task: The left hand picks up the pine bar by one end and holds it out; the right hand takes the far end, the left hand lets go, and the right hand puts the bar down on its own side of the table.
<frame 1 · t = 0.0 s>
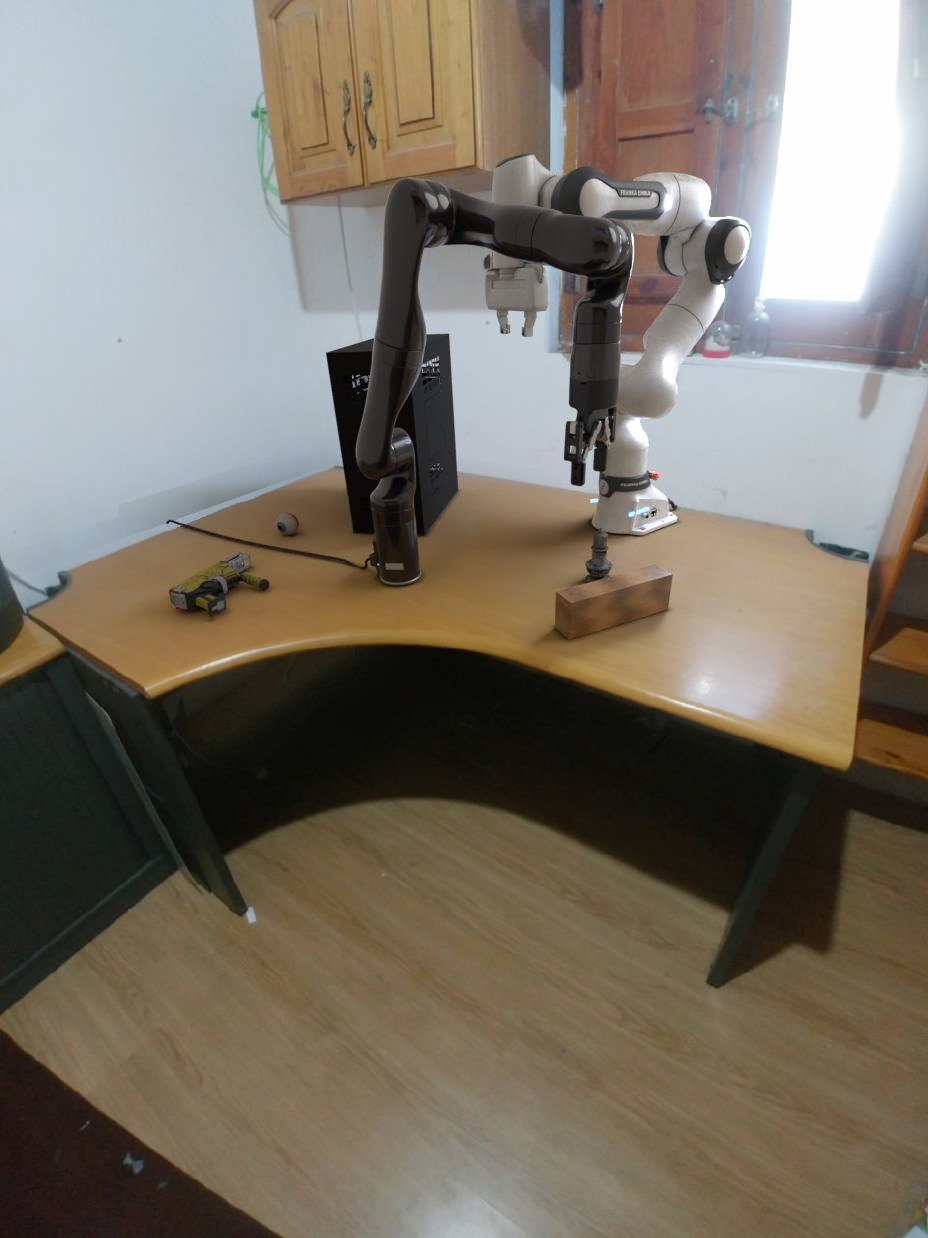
left hand: (588, 477, 100), 29 cm above the table, tool pointing down, fingers open, 8 cm apart
right hand: (516, 335, 125), 48 cm above the table, tool pointing down, fingers open, 8 cm apart
cardboard box: (409, 510, 177), on the table
eyeball: (289, 534, 165), on the table
bar: (612, 618, 117), on the table
toy gun: (234, 591, 136), on the table
dark grey chess piece: (597, 579, 132), on the table
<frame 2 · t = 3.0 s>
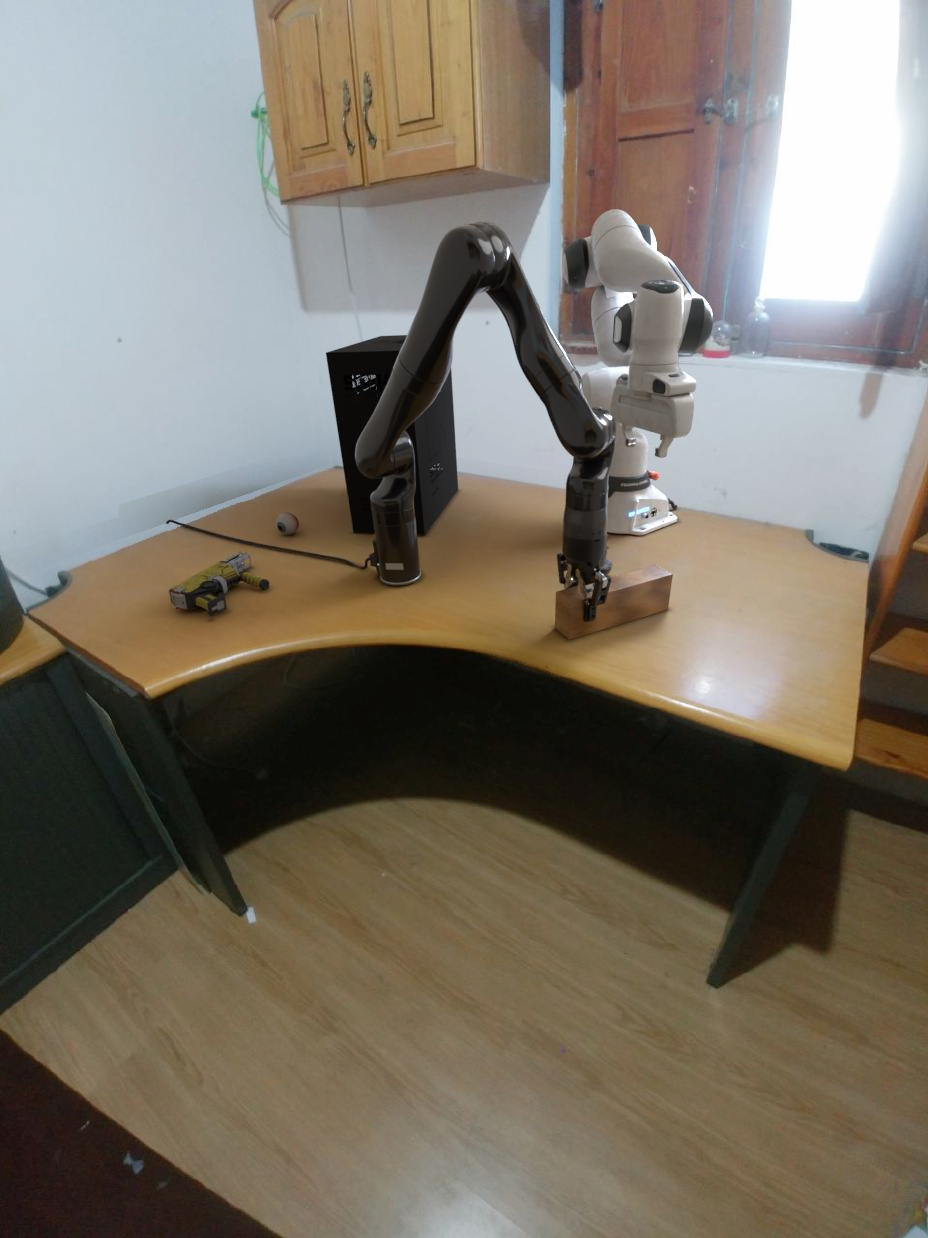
left hand: (580, 613, 113), 3 cm above the table, tool pointing down, fingers closed on bar, 5 cm apart
right hand: (644, 451, 121), 27 cm above the table, tool pointing down, fingers open, 8 cm apart
bar: (612, 618, 117), on the table, touching left hand
everything else where it was.
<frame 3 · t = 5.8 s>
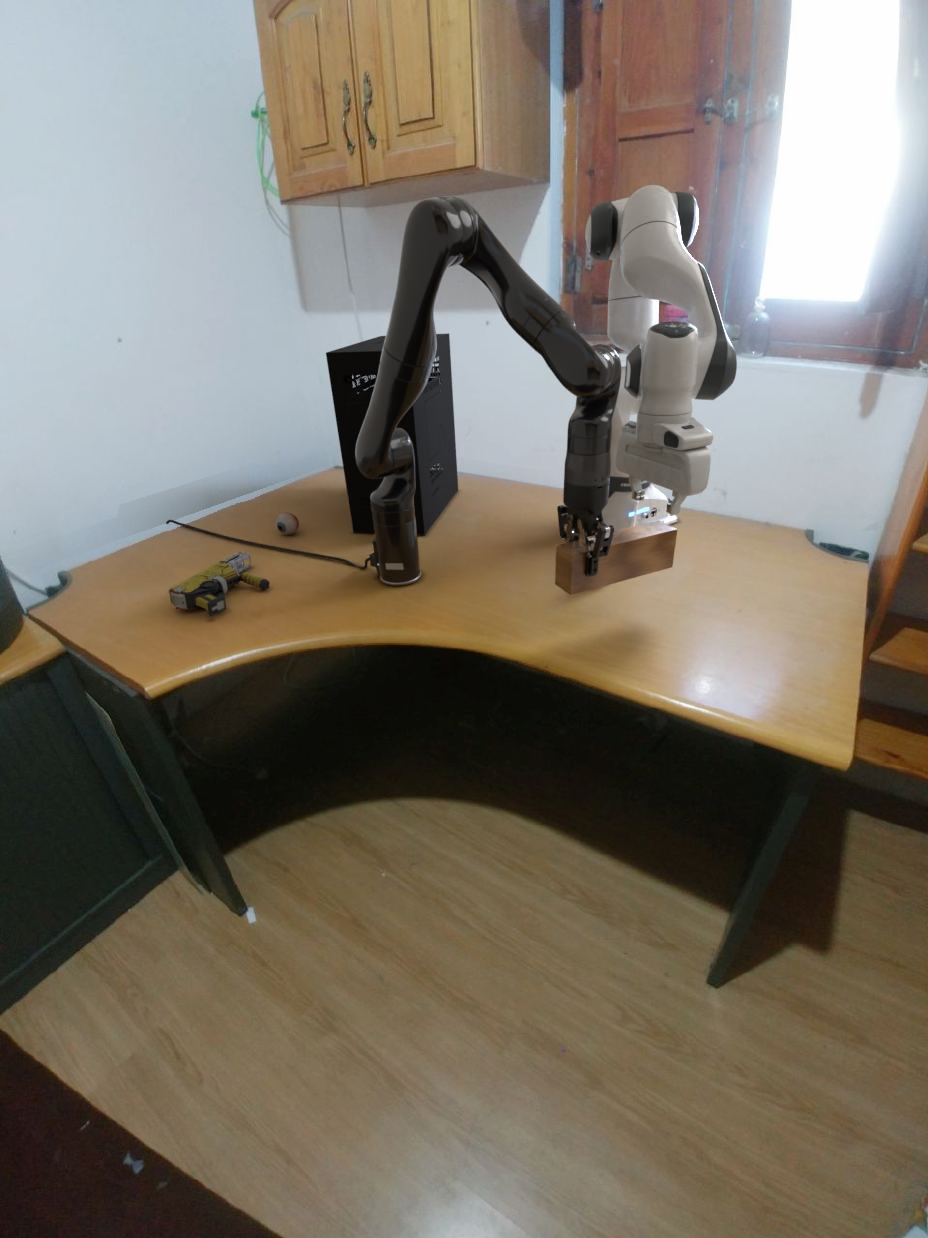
left hand: (581, 568, 109), 13 cm above the table, tool pointing down, fingers closed on bar, 5 cm apart
right hand: (654, 506, 109), 21 cm above the table, tool pointing down, fingers open, 8 cm apart
bar: (614, 575, 113), point 9 cm above the table, touching left hand
everything else where it was.
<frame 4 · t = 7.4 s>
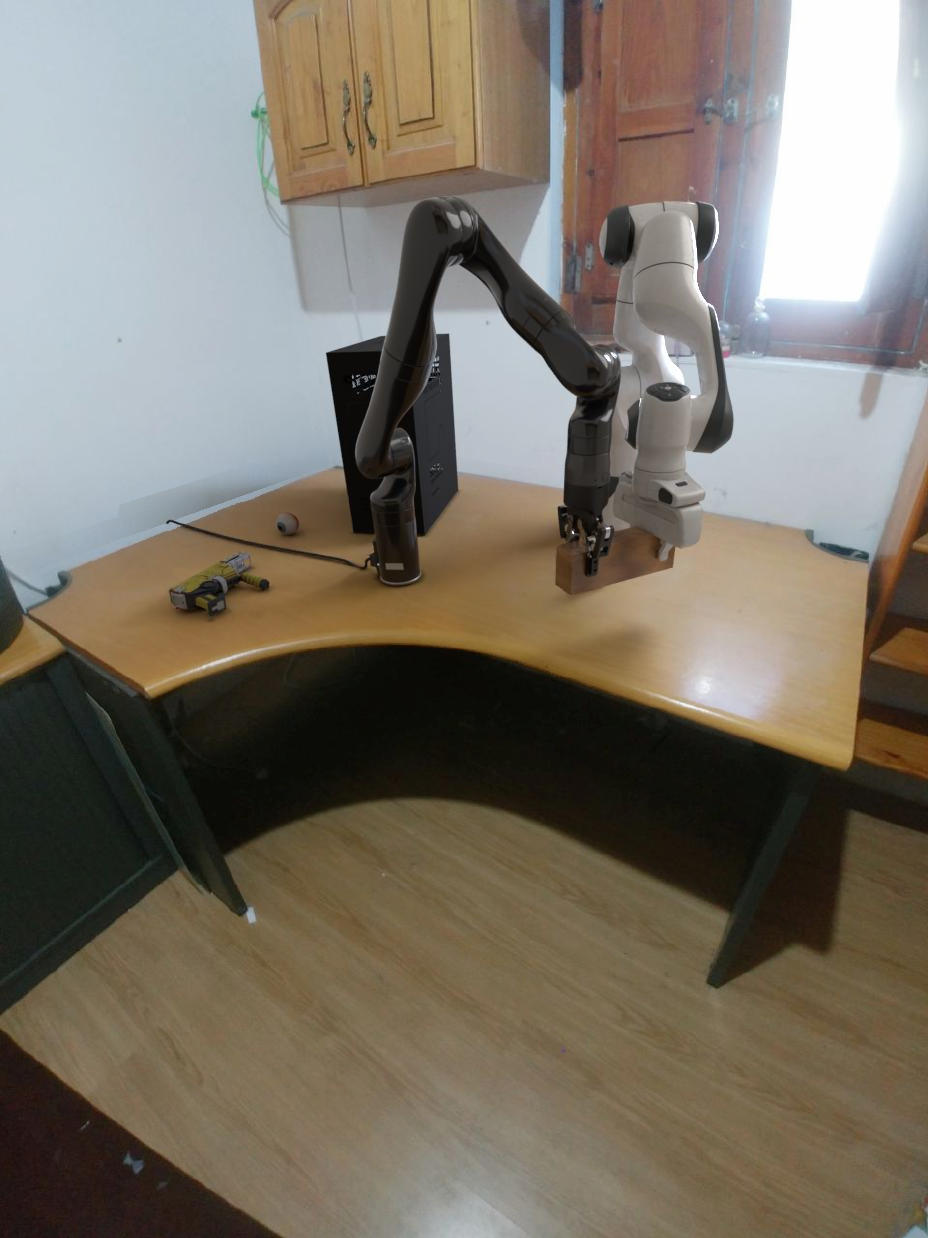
left hand: (581, 569, 109), 13 cm above the table, tool pointing down, fingers closed on bar, 5 cm apart
right hand: (649, 553, 114), 12 cm above the table, tool pointing down, fingers closed on bar, 5 cm apart
bar: (614, 575, 113), point 9 cm above the table, touching right hand, left hand
everything else where it was.
when the left hand's fingers open (13 cm above the table, at t = 8.6 s): bar stays where it is, held by the right hand.
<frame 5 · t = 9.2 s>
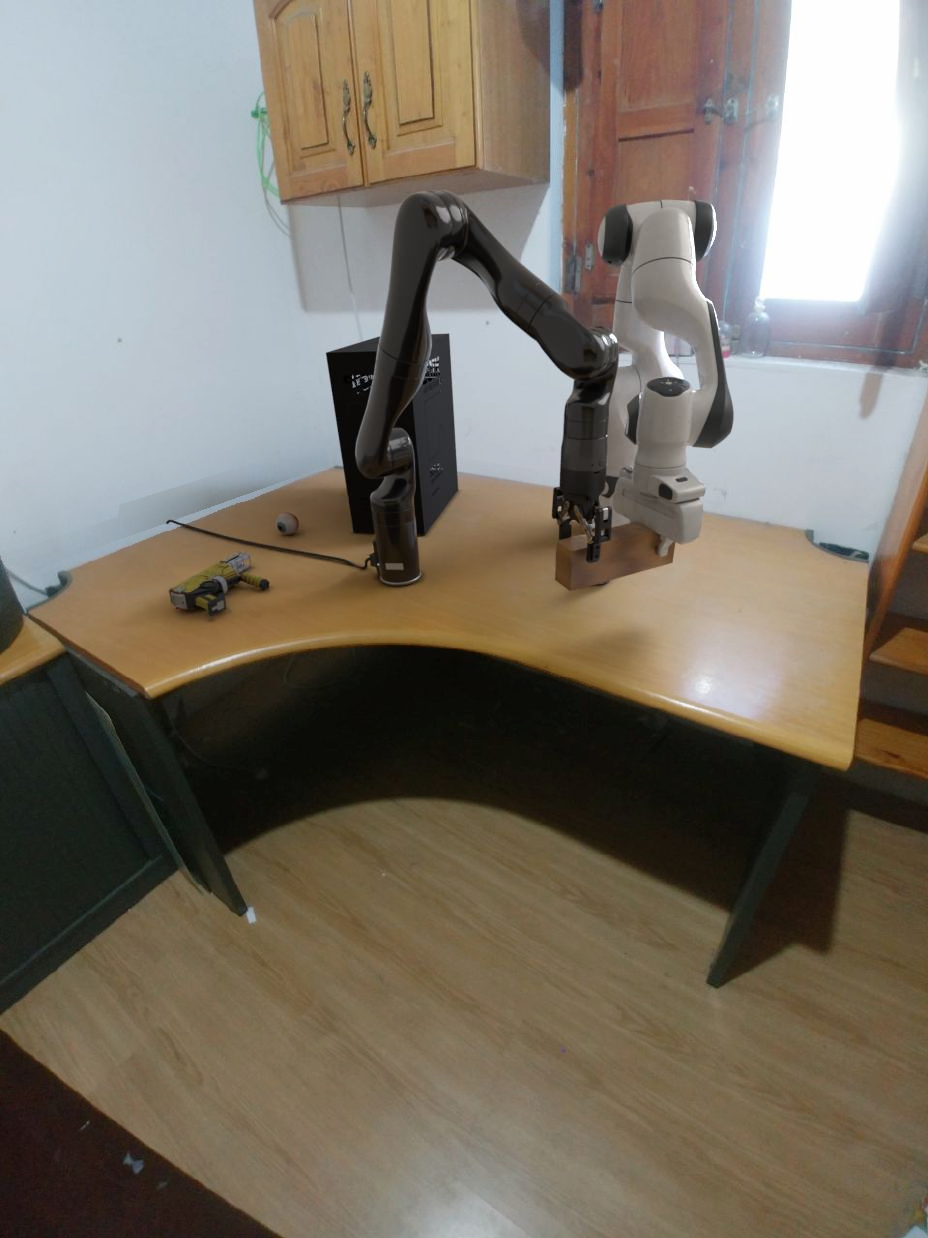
left hand: (578, 552, 107), 16 cm above the table, tool pointing down, fingers open, 8 cm apart
right hand: (649, 548, 114), 13 cm above the table, tool pointing down, fingers closed on bar, 5 cm apart
bar: (614, 571, 113), point 10 cm above the table, touching right hand
everything else where it was.
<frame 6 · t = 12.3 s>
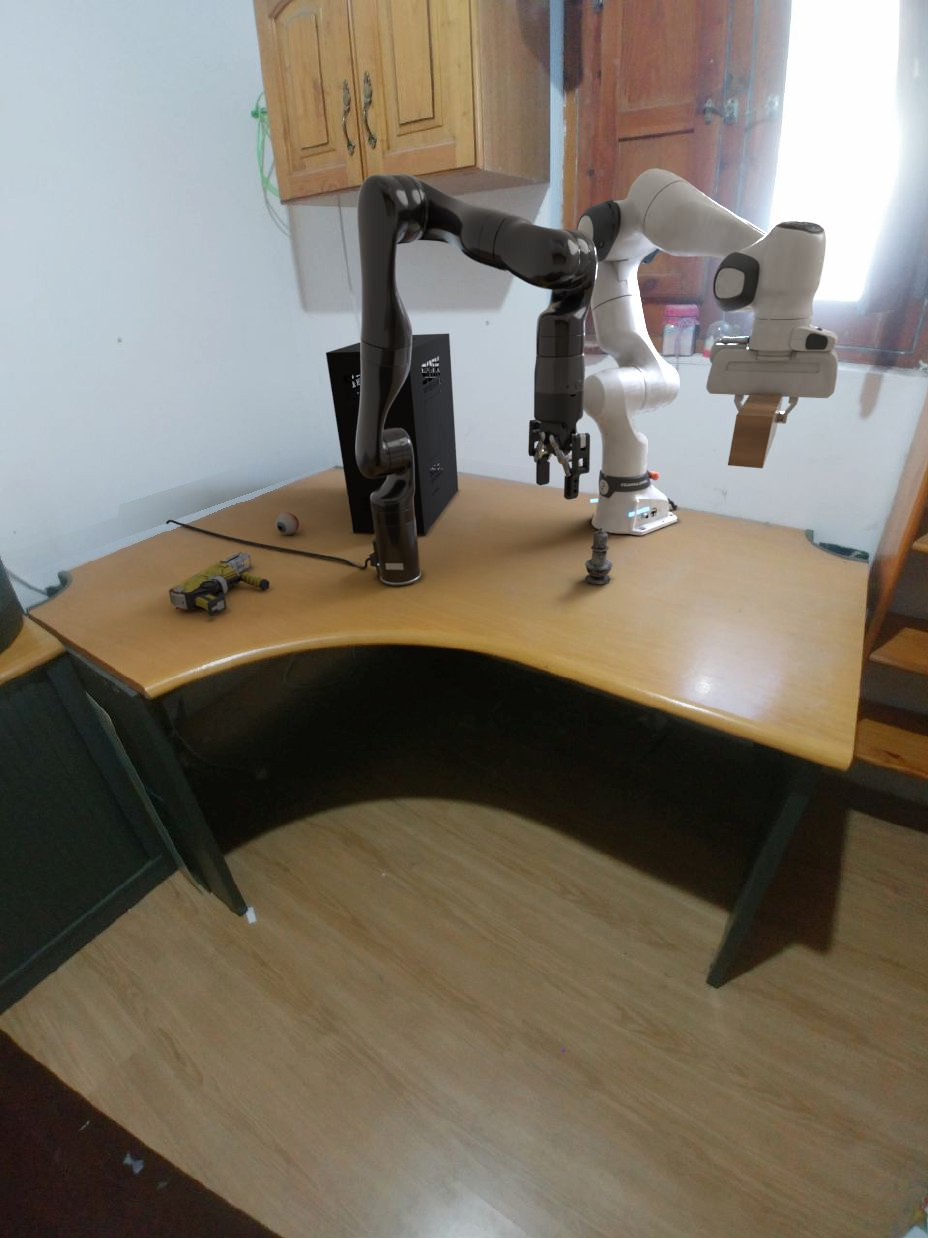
left hand: (556, 491, 99), 28 cm above the table, tool pointing down, fingers open, 8 cm apart
right hand: (761, 421, 108), 34 cm above the table, tool pointing down, fingers closed on bar, 5 cm apart
bar: (753, 448, 103), point 31 cm above the table, touching right hand
everything else where it was.
when the right hand's fingers open (4 cm above the table, at t = 17.3 s): bar drops 1 cm, on the table.
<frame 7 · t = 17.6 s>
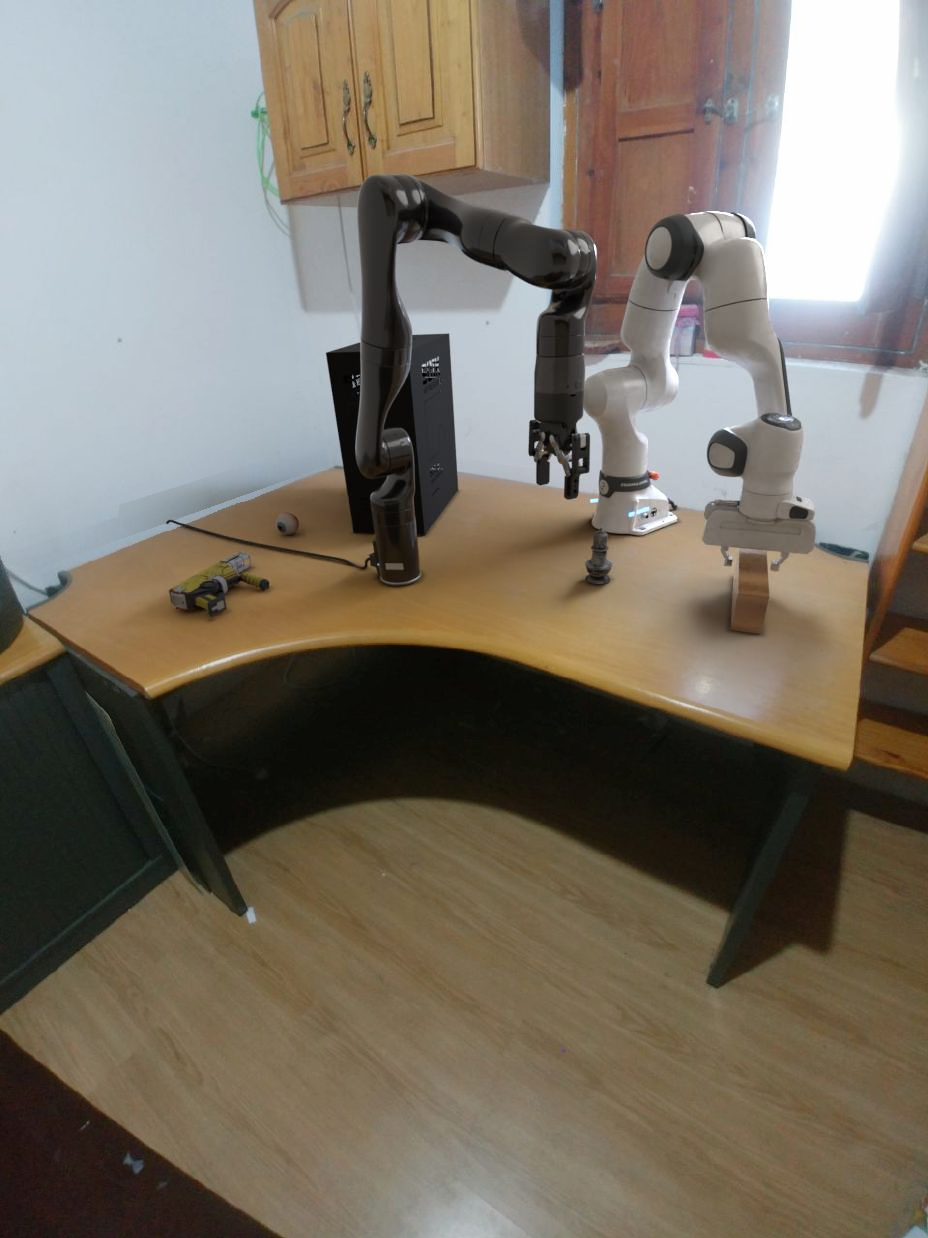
left hand: (556, 491, 99), 28 cm above the table, tool pointing down, fingers open, 8 cm apart
right hand: (750, 567, 123), 5 cm above the table, tool pointing down, fingers open, 7 cm apart
bar: (745, 603, 120), on the table
everything else where it was.
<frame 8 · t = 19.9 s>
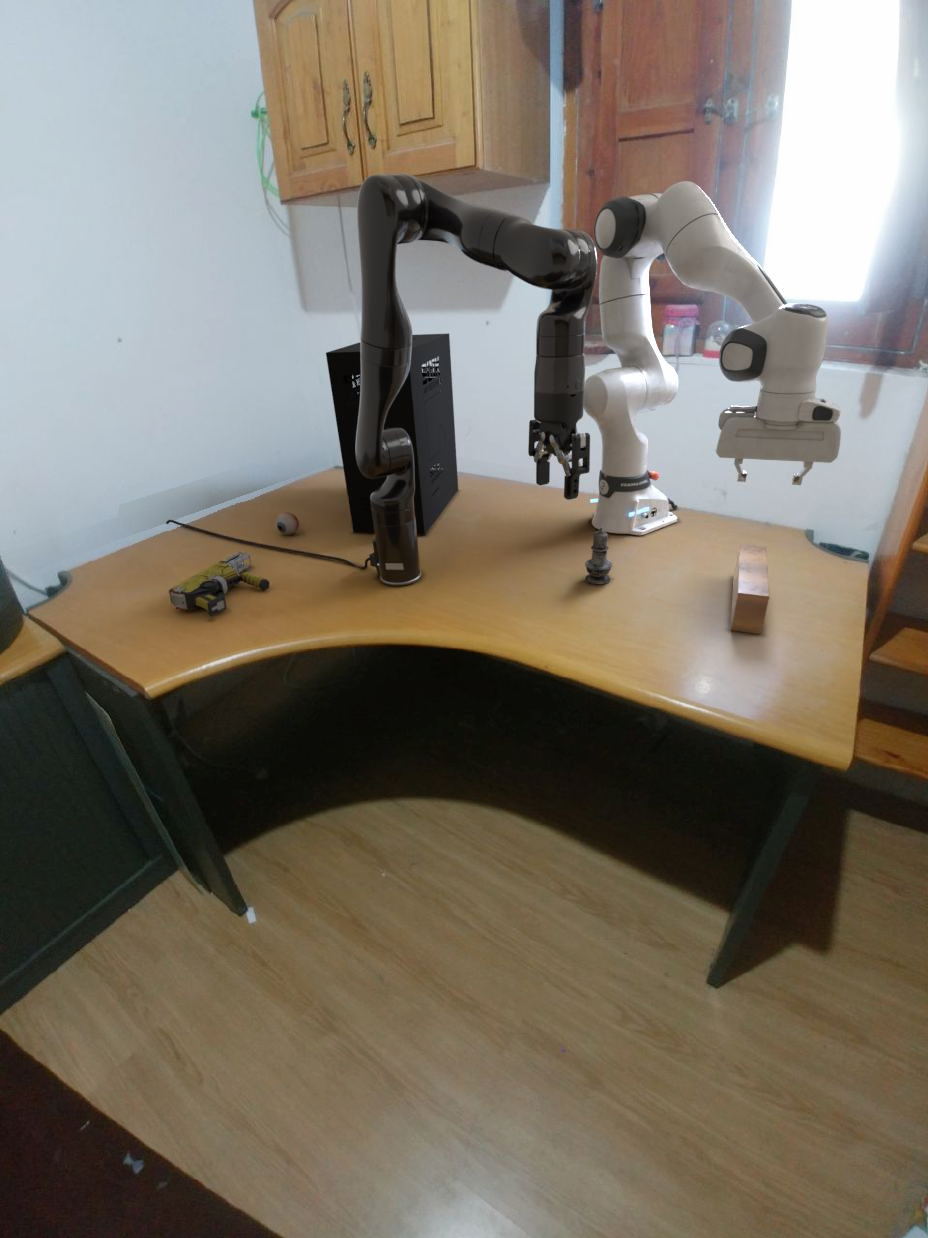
left hand: (556, 491, 99), 28 cm above the table, tool pointing down, fingers open, 8 cm apart
right hand: (768, 482, 114), 22 cm above the table, tool pointing down, fingers open, 8 cm apart
nothing on the table moved.
at the end: bar inside the target area (7.2 cm from its centre), on the table; the left hand is holding nothing; the right hand is holding nothing; bar at rest at the end (0.0 cm/s) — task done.
